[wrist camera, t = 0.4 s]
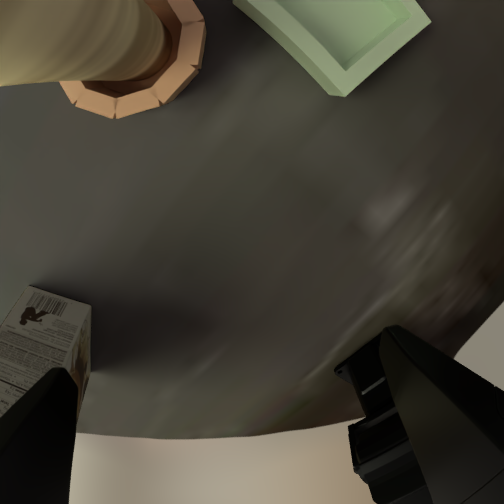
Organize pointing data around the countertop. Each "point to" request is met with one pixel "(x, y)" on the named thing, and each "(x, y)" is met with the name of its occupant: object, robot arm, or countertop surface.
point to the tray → (338, 34)
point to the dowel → (80, 41)
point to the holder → (159, 85)
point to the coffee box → (43, 343)
